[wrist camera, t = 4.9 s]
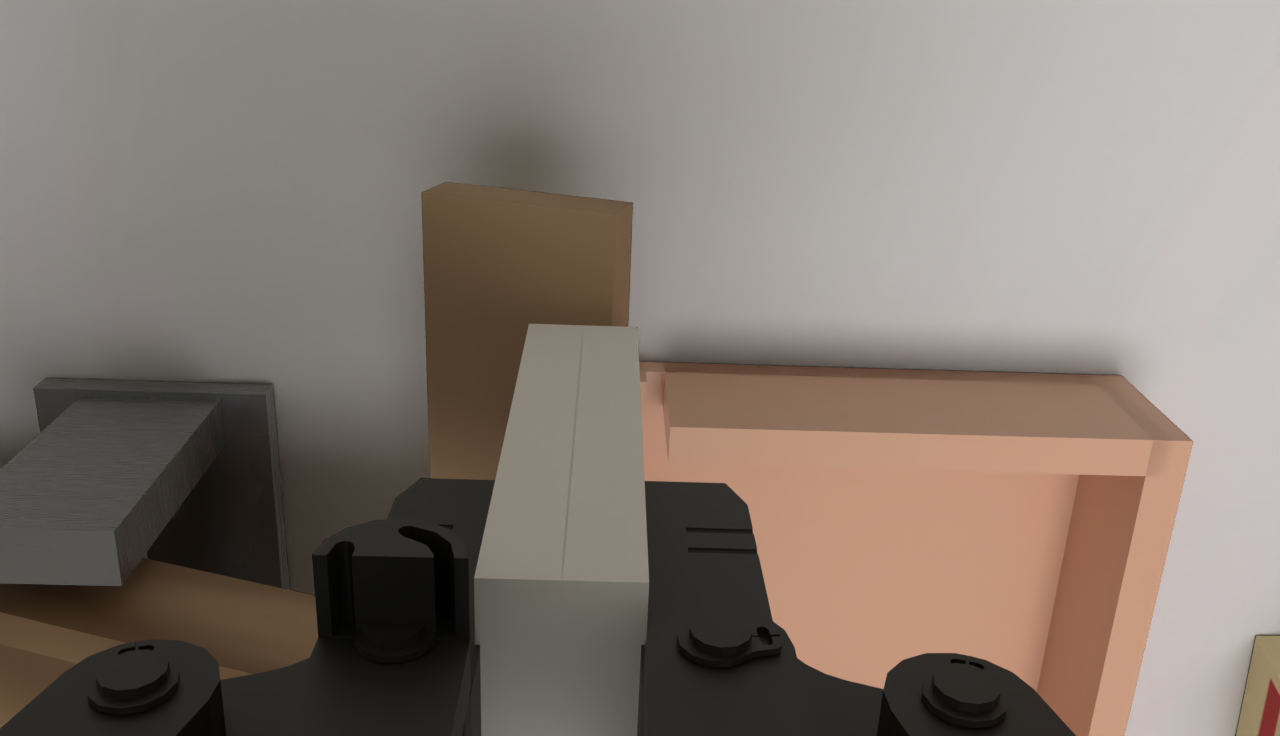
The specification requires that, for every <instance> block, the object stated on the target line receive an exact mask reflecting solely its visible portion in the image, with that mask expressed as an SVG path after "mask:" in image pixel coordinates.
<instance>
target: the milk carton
mask: <svg viewBox="0 0 1280 736" xmlns="http://www.w3.org/2000/svg"><path fill="white" fill-rule="evenodd" d="M1236 736H1280V636H1256V639H1255V644H1254V649H1253V654H1252V659H1251V664H1250V669H1249V674H1248V679H1247V684H1246V689H1245V694H1244V699H1243V704H1242V709H1241V714H1240V719H1239V724H1238V729H1237V734H1236Z"/></svg>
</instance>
